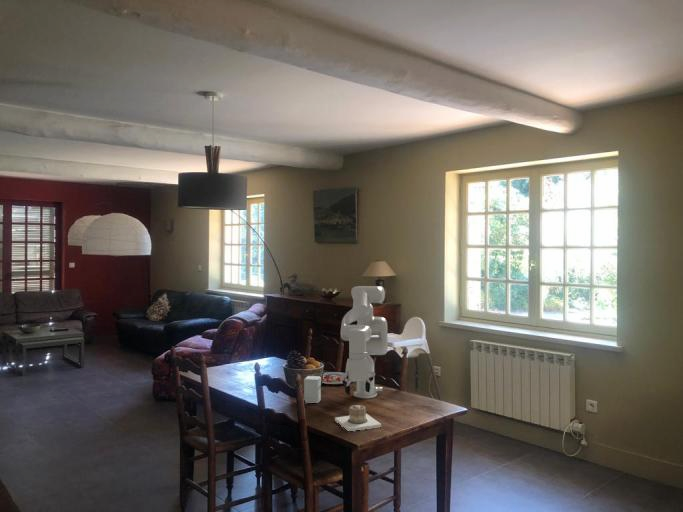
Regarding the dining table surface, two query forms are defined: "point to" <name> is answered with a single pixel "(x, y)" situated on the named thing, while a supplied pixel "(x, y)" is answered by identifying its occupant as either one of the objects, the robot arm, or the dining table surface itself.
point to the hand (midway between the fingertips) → (357, 392)
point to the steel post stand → (350, 426)
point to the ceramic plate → (332, 378)
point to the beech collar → (357, 414)
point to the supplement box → (312, 389)
